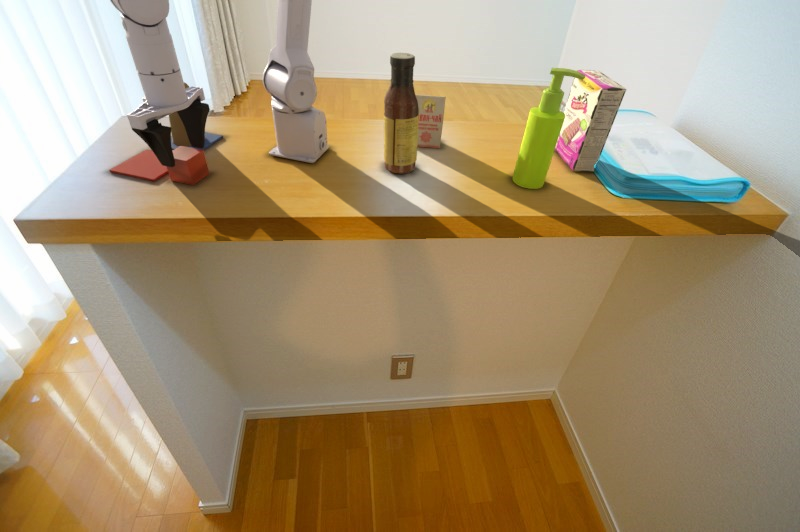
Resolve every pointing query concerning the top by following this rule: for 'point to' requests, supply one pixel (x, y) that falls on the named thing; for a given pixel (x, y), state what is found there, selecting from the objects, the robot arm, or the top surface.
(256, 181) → the top surface
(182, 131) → the cork
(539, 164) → the soap dispenser
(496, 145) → the top surface
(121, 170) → the red mat
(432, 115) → the beige carton box
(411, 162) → the sauce bottle
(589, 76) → the candy bar box
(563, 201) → the top surface
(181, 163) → the red block
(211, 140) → the blue mat
